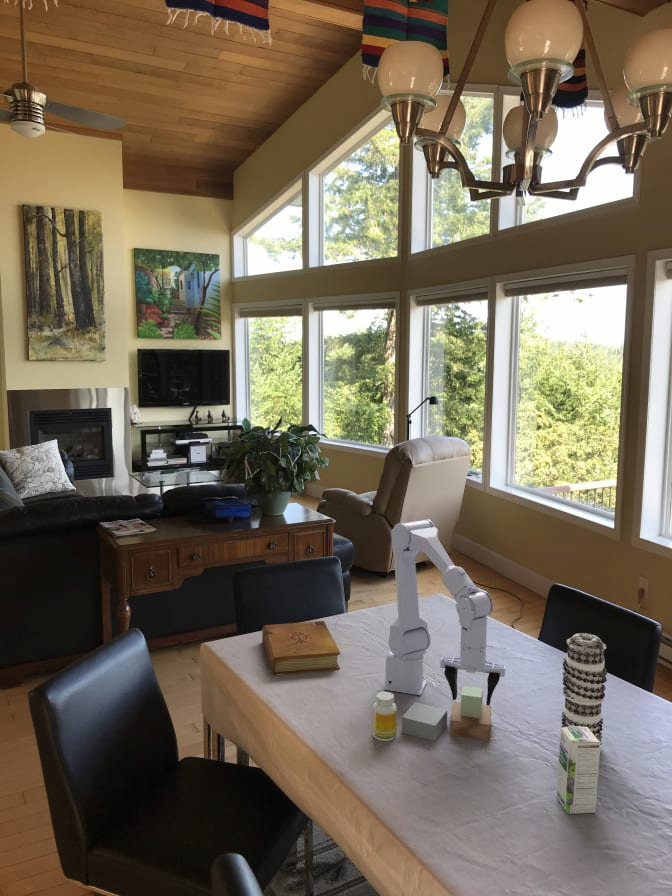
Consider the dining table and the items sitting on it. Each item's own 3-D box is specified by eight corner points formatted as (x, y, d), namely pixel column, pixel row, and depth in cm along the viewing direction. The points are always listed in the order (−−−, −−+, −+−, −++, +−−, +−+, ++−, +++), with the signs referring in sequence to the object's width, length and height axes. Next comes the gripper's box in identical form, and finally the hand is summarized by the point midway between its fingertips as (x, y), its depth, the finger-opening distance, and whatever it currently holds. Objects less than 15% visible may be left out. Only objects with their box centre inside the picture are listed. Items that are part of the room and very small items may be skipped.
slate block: (401, 733, 160) (402, 717, 160) (414, 717, 167) (415, 701, 167) (435, 742, 157) (435, 725, 156) (446, 726, 164) (447, 709, 163)
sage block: (460, 715, 161) (461, 694, 160) (462, 706, 165) (463, 686, 164) (480, 718, 159) (481, 697, 159) (482, 709, 164) (482, 688, 163)
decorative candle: (550, 743, 156) (555, 635, 153) (574, 730, 161) (580, 626, 158) (586, 762, 149) (592, 649, 145) (611, 748, 154) (617, 639, 151)
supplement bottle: (368, 732, 160) (368, 692, 159) (388, 727, 162) (389, 688, 161) (379, 744, 155) (380, 703, 154) (400, 738, 158) (401, 698, 156)
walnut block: (449, 736, 159) (450, 720, 159) (452, 717, 168) (452, 701, 167) (490, 741, 157) (491, 724, 157) (490, 721, 166) (491, 705, 165)
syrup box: (555, 796, 137) (558, 726, 135) (584, 794, 138) (588, 725, 136) (567, 815, 132) (570, 742, 130) (597, 813, 132) (601, 741, 130)
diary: (262, 643, 211) (262, 625, 210) (323, 639, 215) (323, 620, 214) (271, 677, 188) (271, 656, 188) (339, 671, 192) (340, 650, 192)
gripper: (438, 646, 159) (437, 703, 160) (504, 655, 154) (502, 714, 156) (443, 635, 165) (442, 689, 167) (507, 643, 161) (505, 699, 162)
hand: (471, 700), depth 162 cm, fingers open, 7 cm apart
